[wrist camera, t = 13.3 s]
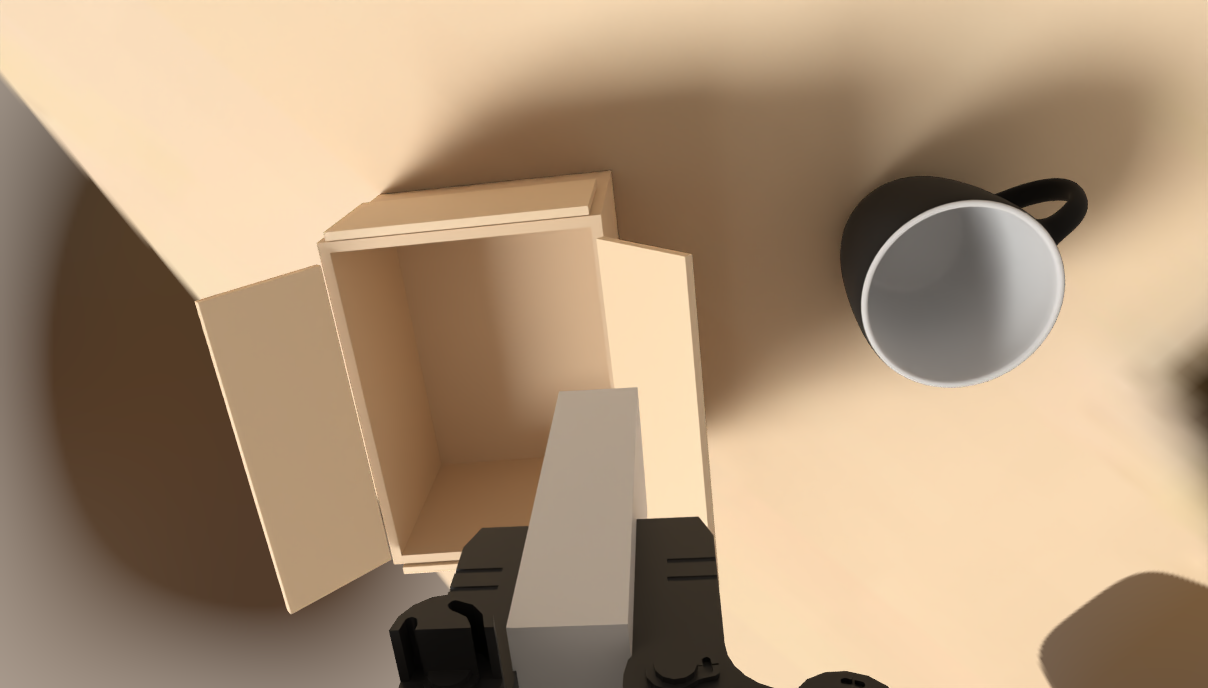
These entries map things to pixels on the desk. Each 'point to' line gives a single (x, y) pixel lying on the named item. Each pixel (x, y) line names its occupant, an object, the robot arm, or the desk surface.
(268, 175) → the desk surface
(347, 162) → the desk surface
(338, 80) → the desk surface
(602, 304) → the carton
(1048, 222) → the mug
